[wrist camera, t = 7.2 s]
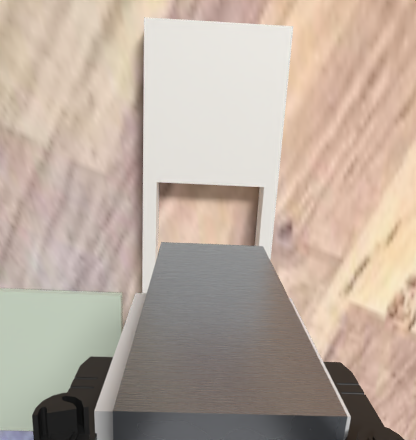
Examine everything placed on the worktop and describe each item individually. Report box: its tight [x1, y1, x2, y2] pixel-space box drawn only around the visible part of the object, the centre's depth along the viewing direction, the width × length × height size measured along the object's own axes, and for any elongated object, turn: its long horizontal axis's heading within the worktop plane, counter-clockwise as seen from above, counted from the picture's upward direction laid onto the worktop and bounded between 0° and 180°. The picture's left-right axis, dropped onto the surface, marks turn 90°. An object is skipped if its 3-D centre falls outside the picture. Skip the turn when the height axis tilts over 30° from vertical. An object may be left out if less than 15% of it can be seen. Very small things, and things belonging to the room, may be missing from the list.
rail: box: [142, 17, 293, 293], centre depth 30 cm, size 10×30×2 cm, turn 177°
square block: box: [113, 242, 348, 440], centre depth 14 cm, size 5×5×11 cm
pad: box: [0, 288, 122, 431], centre depth 34 cm, size 14×14×1 cm
